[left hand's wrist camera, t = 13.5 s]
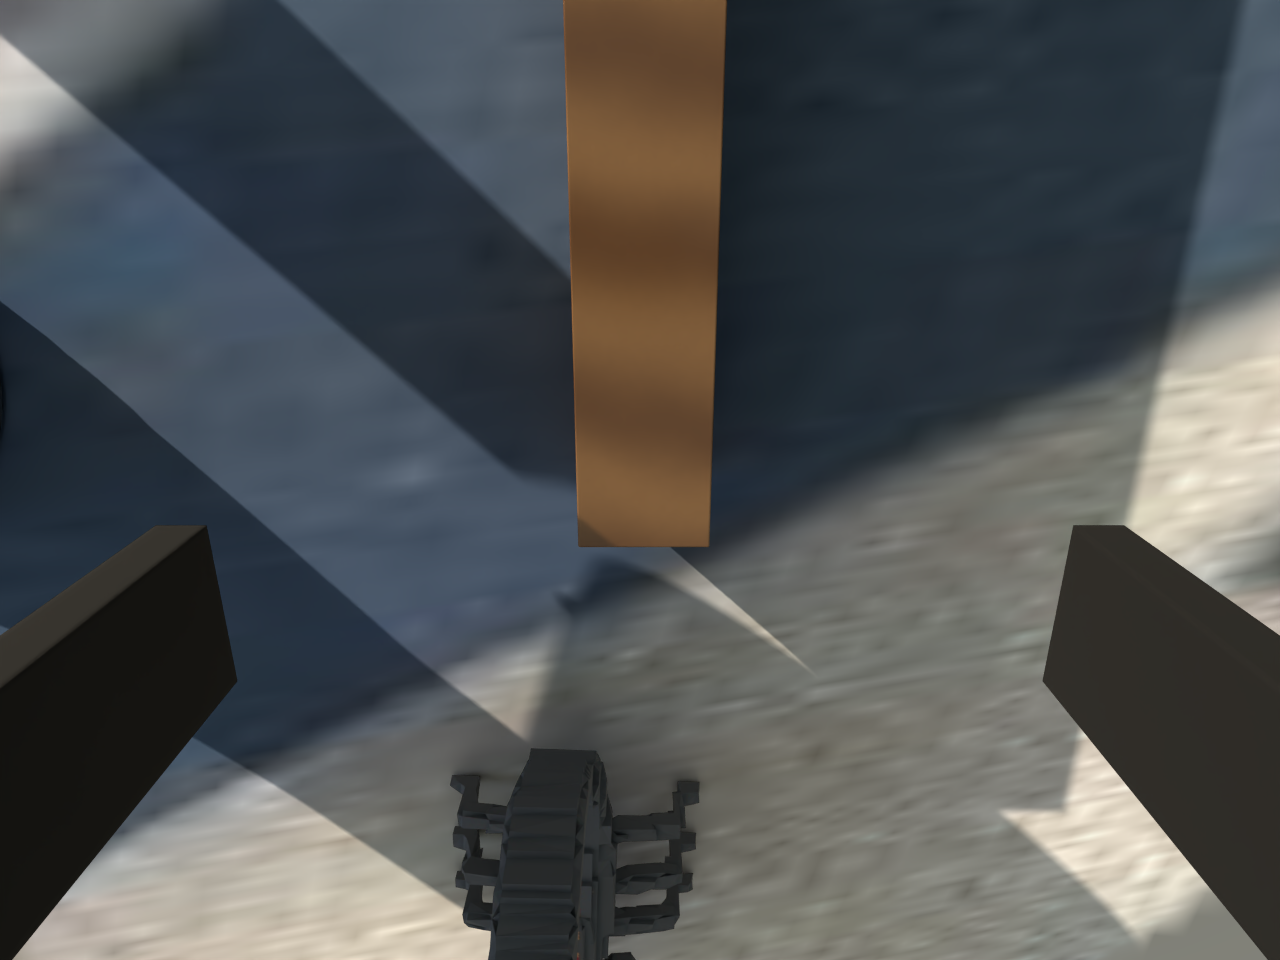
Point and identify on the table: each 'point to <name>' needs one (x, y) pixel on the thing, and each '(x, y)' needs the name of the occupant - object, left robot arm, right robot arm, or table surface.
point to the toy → (566, 861)
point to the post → (644, 263)
